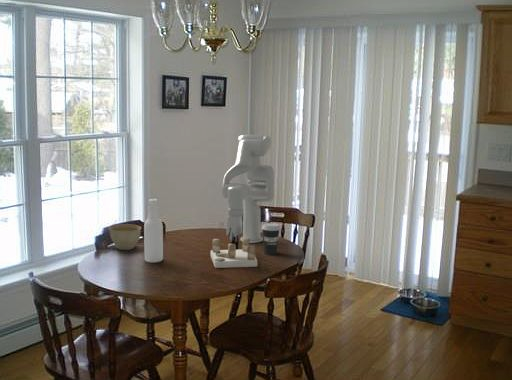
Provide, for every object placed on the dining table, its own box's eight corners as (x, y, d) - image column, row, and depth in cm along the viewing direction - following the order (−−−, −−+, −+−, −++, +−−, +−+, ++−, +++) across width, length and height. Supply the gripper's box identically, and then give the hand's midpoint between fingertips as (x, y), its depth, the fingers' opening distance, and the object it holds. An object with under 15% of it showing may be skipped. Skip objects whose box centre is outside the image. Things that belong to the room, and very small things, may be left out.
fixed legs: (212, 250, 293) (212, 238, 292) (248, 249, 296) (249, 237, 295) (216, 261, 275) (216, 248, 274) (255, 259, 278) (255, 247, 277)
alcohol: (161, 257, 290) (161, 197, 285) (164, 262, 282) (163, 200, 277) (143, 258, 288) (142, 198, 283) (145, 263, 279) (145, 201, 274)
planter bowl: (137, 252, 298) (137, 231, 297) (106, 251, 299) (105, 230, 297) (144, 244, 314) (144, 224, 313) (114, 243, 315) (113, 223, 313)
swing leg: (214, 255, 283) (214, 243, 282) (217, 253, 286) (218, 241, 285) (233, 258, 279) (233, 245, 278) (236, 256, 282) (237, 244, 281)
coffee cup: (257, 254, 300) (258, 225, 297) (266, 249, 308) (266, 221, 305) (274, 256, 295) (275, 227, 293) (282, 252, 304) (283, 223, 301)
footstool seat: (210, 256, 294) (210, 249, 293) (249, 254, 298) (250, 248, 297) (215, 267, 274) (215, 261, 274) (257, 266, 278) (257, 259, 278)
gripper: (233, 208, 290) (233, 244, 293) (221, 214, 276) (221, 252, 279) (248, 209, 287) (247, 246, 290) (236, 215, 273) (236, 254, 276)
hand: (234, 249), depth 284 cm, fingers closed
